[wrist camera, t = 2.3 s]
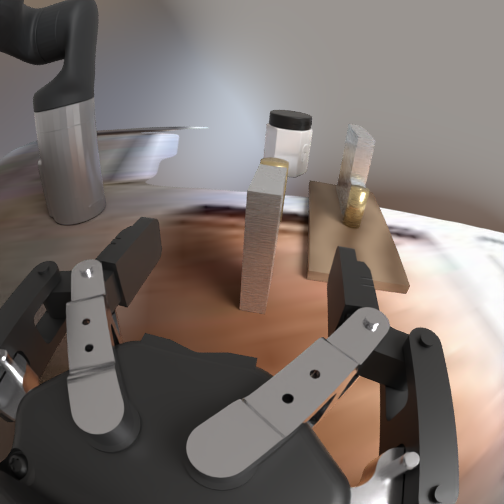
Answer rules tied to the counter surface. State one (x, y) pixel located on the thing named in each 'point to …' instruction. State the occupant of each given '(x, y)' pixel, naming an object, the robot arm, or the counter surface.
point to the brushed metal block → (262, 232)
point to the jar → (289, 139)
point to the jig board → (351, 240)
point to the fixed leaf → (354, 175)
